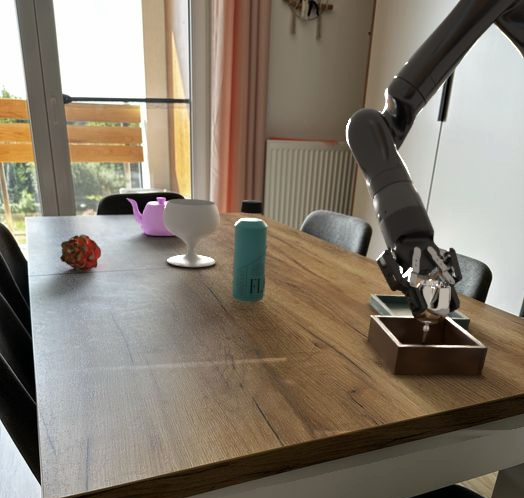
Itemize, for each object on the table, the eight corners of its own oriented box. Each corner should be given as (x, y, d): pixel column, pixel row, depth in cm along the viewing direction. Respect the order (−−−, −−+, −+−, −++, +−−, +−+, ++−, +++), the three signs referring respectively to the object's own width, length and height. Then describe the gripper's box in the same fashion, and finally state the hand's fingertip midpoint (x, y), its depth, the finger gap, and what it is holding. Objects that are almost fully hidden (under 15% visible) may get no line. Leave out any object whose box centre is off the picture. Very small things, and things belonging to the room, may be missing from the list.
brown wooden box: (443, 341, 89) (448, 316, 87) (481, 375, 77) (488, 347, 75) (367, 340, 88) (370, 315, 86) (393, 374, 75) (398, 346, 73)
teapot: (128, 228, 169) (127, 193, 164) (190, 230, 172) (190, 196, 168) (126, 236, 157) (124, 199, 152) (192, 238, 160) (192, 201, 156)
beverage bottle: (248, 311, 98) (253, 203, 90) (224, 303, 102) (227, 198, 94) (270, 305, 102) (277, 201, 95) (246, 297, 106) (251, 197, 99)
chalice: (164, 269, 123) (163, 205, 117) (162, 256, 136) (161, 197, 130) (222, 269, 126) (224, 207, 120) (215, 256, 139) (216, 199, 133)
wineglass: (399, 359, 81) (412, 285, 76) (404, 347, 86) (416, 277, 81) (438, 366, 79) (453, 291, 74) (440, 353, 84) (455, 282, 79)
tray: (436, 305, 109) (438, 295, 108) (468, 330, 95) (470, 319, 95) (369, 303, 107) (370, 294, 106) (392, 328, 94) (394, 317, 93)
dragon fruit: (74, 282, 114) (83, 276, 126) (105, 260, 114) (112, 256, 125) (48, 250, 112) (60, 247, 123) (80, 228, 111) (89, 226, 123)
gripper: (376, 203, 77) (413, 303, 72) (451, 203, 82) (491, 296, 77) (353, 232, 83) (385, 326, 78) (424, 231, 89) (458, 318, 83)
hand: (437, 311), depth 78 cm, fingers closed on wineglass, 5 cm apart
